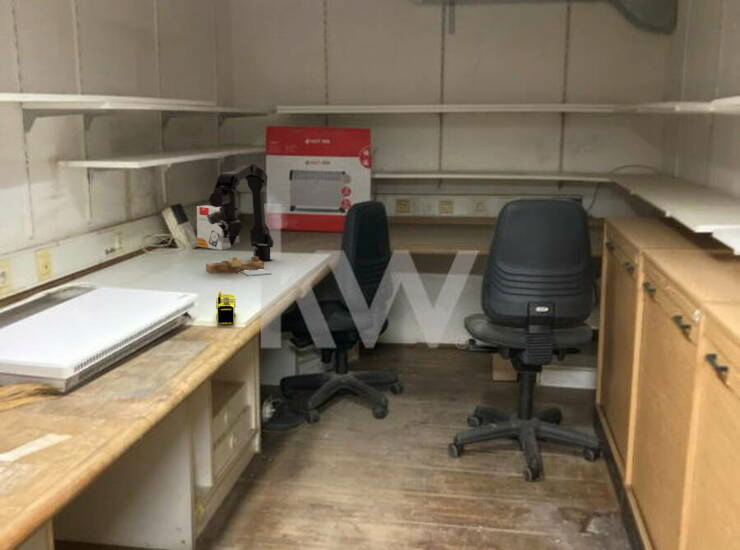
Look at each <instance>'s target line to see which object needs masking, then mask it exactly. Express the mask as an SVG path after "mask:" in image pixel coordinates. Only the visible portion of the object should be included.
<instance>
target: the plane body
mask: <svg viewBox="0 0 740 550" xmlns="http://www.w3.org/2000/svg"><path fill="white" fill-rule="evenodd" d="M258 269H264V270H265V261H260V260H259V257H257V256H255V257H254V256H251V260H241V266H237V267H232V266H230V265H229V263H228V260H221V262H212V263H211V262H210V263H209V262H208V263H205V271H206V272H207V273H209V274H218V273H221V272H222V273H229V274H240V273H241V271H244V270H258ZM239 272H240V273H239ZM222 273H221V274H222Z"/></svg>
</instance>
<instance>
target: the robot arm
mask: <svg viewBox="0 0 740 550" xmlns="http://www.w3.org/2000/svg"><path fill="white" fill-rule="evenodd" d="M243 179H245V181H246V182H247V187H248V188H249V190H250V191H251V195H252V197H251V200H252V211H253V212H252V213H253V226H252V227H251V228H250V230H249V234H250V236H249V239H250V244H251V247H254V249H253V257H255V256H257V257H259V260H260V261H262V262H266V261H267V262H269V261H270V262H271V261H272V259H271V248H273V247H274V244H275V243H274V239H273V238H272V236H271V233H270V231H271V230H270V228H269V227H268V225H267V223H266V214H265V198H264V197H265V196H264V195H265V194H264V193H265V192H264V191H265V189H266V188H267V185H268V175H267V173H266V172H265V171H264V170H263V169H261V168H260V167H259V166H257V165H256V164H255V163H254V162H253V163H252V162H251V163H250V162H249V163H248V162H244V163H243V164H242V165H241V166H238V167H237V168H236V169H234V170H232V171H225V172H221V173H219V175H218V177H217V180H216V183H215V185H214V189H213V192H212V193H211V194H210V196H209V200H208V201H209V203H210V206H214V207H220V208H219V211H218V212H215V213H212V214H210V215H207V218H208V220H209V223H211V224H215V223H217V224H218V226H219V227H220V228H221V229H222V231H223V235H228V234H229V240H230V245H231V246H234V244H235V243H234V242H235V240H236V238H237V236H239V233H240V231H241V230H242V229H244V222H242V221H241V220H240V219H239V218H238V217H237V211H238V207H237V194H238V193H239V190H238V189H237V188H238V186H240V184H241V181H242V180H243Z"/></svg>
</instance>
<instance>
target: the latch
mask: <svg viewBox="0 0 740 550" xmlns="http://www.w3.org/2000/svg"><path fill="white" fill-rule="evenodd" d="M227 261H228V263H229V265H230V266H232V267H237V266H241V261H242V259H240V258H238V257H237V256H233V257H231V258H228V259H227Z"/></svg>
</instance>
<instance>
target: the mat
mask: <svg viewBox="0 0 740 550" xmlns="http://www.w3.org/2000/svg"><path fill="white" fill-rule="evenodd" d="M241 272H242V273H241ZM240 273H241V274H243V273H244V274H243V275H244V276H246V275H247V276H246V277H251V276H250V275H258V276H268V275H269V276H270V275H272V272H270V271H268V270H266V269H264V270H249V271H240Z"/></svg>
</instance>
